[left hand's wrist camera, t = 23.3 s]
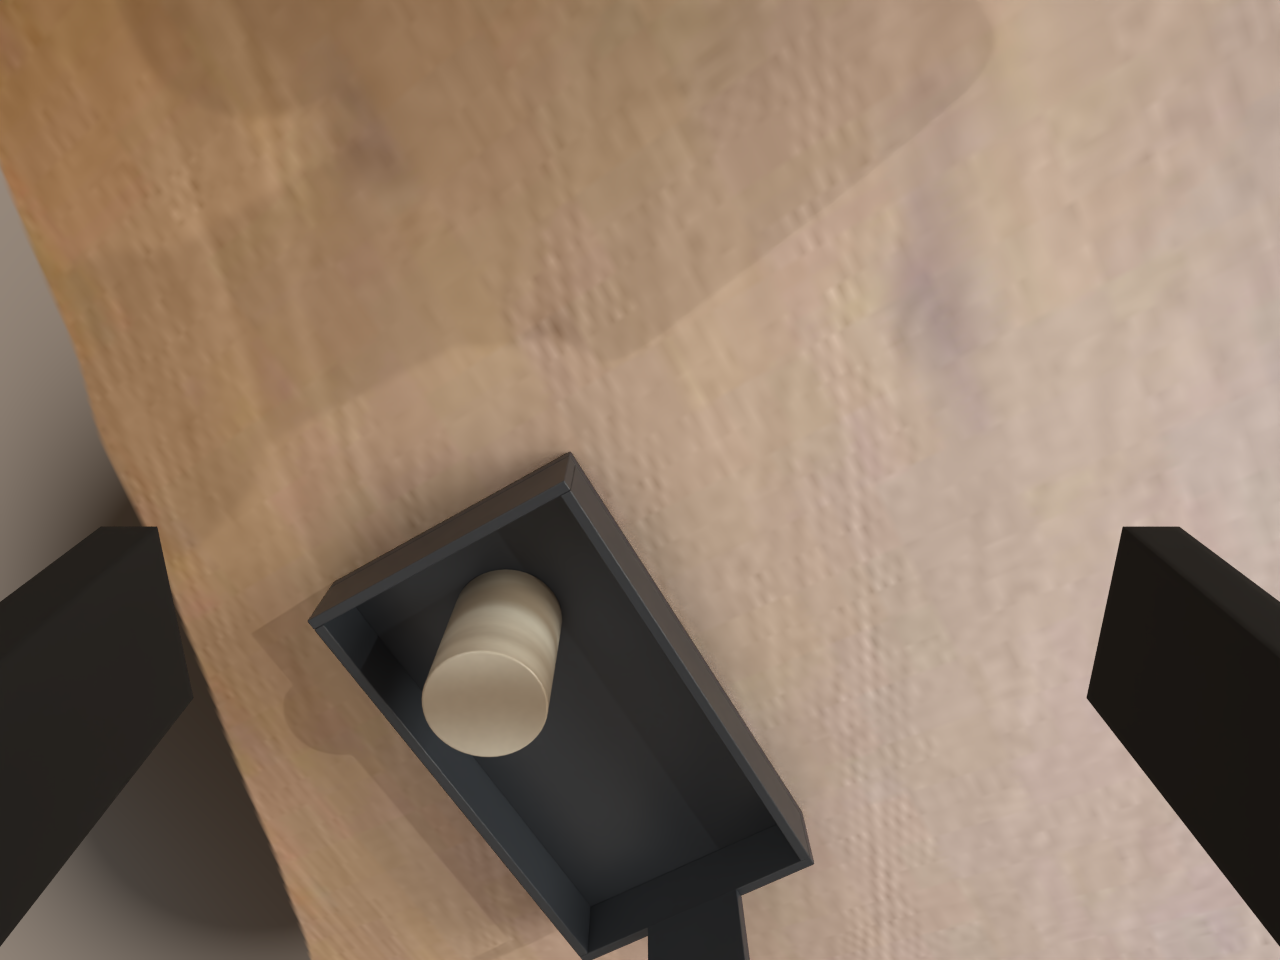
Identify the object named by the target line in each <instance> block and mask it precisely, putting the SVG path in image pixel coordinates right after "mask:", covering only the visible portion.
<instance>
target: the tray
mask: <svg viewBox="0 0 1280 960" xmlns="http://www.w3.org/2000/svg"><path fill="white" fill-rule="evenodd" d="M503 569H508V570H517V571H521V572H525V573H528V574H530V575H532V576H534V577H536V578H538V579H539V580H541V581H542V582H543V583H545V584H546V585H547V586H548V587H549V588H550V590H551V591H552V592H553V593H554V595H555V596H556V598H557V600H558V602H559V605H560V608H561V613H562V626H561V632H560V638H559V645H558V651H557V658H556V664H555V670H554V677H553V683H552V689H551V696H550V702H549V708H548V714H547V719H546V722H545V725H544V726H543V728H542V730H541V732H540V733H539V734H538V736H537V737H536V738H535V739H534V740H533V741H532V742H531V743H529V744H528V745H527V746H525V747H524V748H522V749H520V750H518V751H516V752H514V753H511V754H507V755H503V756H498V757H480V756H473V755H470V754H466V753H463V752H460V751H458V750H456V749H454V748H452V747H450V746H449V745H447V744H446V743H444V742H443V741H442V740H441V739H440V738H438V736H437V735H436V734H435V733H434V732H433V731H432V729H431V728H430V727H429V725H428V723H427V721H426V719H425V716H424V713H423V708H422V691H423V688H424V684H425V682H426V679H427V677H428V674H429V671H430V669H431V666H432V664H433V661H434V658H435V656H436V653H437V651H438V648H439V645H440V643H441V640H442V638H443V635H444V632H445V630H446V627H447V625H448V622H449V619H450V617H451V614H452V612H453V609H454V606H455V604H456V601H457V599H458V597H459V594H460V593H461V591H462V590H463V589H464V587H465V586H466V585H467V584H468V583H469V582H470V581H472V580H473V579H475V578H476V577H478V576H480V575H482V574H484V573H487V572H490V571H495V570H503ZM308 623H309V624H310V625H311V626H312V628H313V629H315V631H316V632H317V634H318V635H319V636H320V637H321V639H322V640H323V641H324V642H325V644H326V645H327V646H328V647H329V649H330V650H331V651H332V652H333V653H334V655H335V656H336V657H337V658H338V660H339V661H340V662H341V663H342V665H343V666H344V667H345V668H346V669H347V671H348V672H349V673H350V674H351V676H352V677H353V678H354V679H355V681H356V682H357V683H358V684H359V685H360V687H361V688H362V689H363V690H364V692H365V693H366V694H367V695H368V697H369V698H370V699H371V700H372V701H373V703H374V704H375V705H376V706H377V708H378V709H379V710H380V711H381V713H382V714H383V715H384V716H385V717H386V719H387V720H388V721H389V722H390V724H391V725H392V726H393V727H394V729H395V730H396V731H397V732H398V733H399V735H400V736H401V737H402V738H403V740H404V741H405V742H406V743H407V745H408V746H409V747H410V748H411V749H412V751H413V752H414V753H415V754H416V756H417V757H418V758H419V759H420V761H421V762H422V763H423V764H424V765H425V767H426V768H427V769H428V770H429V772H430V773H431V774H432V775H433V777H434V778H435V779H436V780H437V781H438V783H439V784H440V785H441V786H442V788H443V789H444V790H445V791H446V793H447V794H448V795H449V796H450V797H451V799H452V800H453V801H454V802H455V804H456V805H457V806H458V807H459V809H460V810H461V811H462V812H463V813H464V815H465V816H466V817H467V818H468V820H469V821H470V822H471V823H472V825H473V826H474V827H475V828H476V830H477V831H478V832H479V833H480V834H481V836H482V837H483V838H484V839H485V841H486V842H487V843H488V844H489V846H490V847H491V848H492V849H493V850H494V852H495V853H496V854H497V855H498V857H499V858H500V859H501V860H502V862H503V863H504V864H505V865H506V866H507V868H508V869H509V870H510V871H511V873H512V874H513V875H514V876H515V878H516V879H517V880H518V881H519V882H520V884H521V885H522V886H523V887H524V889H525V890H526V891H527V892H528V894H529V895H530V896H531V897H532V898H533V900H534V901H535V902H536V903H537V905H538V906H539V907H540V908H541V910H542V911H543V912H544V913H545V914H546V916H547V917H548V918H549V919H550V921H551V922H552V923H553V924H554V926H555V927H556V928H557V929H558V930H559V932H560V933H561V934H562V935H563V937H564V938H565V939H566V940H567V942H568V943H569V944H570V945H571V946H572V948H573V949H574V950H575V951H576V953H577V954H578V955H579V956H580V957H581V959H582V960H593V959H595V958H598V957H600V956H602V955H604V954H607V953H609V952H611V951H614V950H616V949H618V948H621V947H623V946H625V945H628V944H630V943H632V942H635V941H637V940H639V939H642V938H644V937H646V936H648V960H750V958H749V950H748V943H747V935H746V927H745V920H744V912H743V904H742V897H741V895H744V894H746V893H748V892H751V891H753V890H755V889H758V888H760V887H762V886H764V885H767V884H769V883H771V882H774V881H776V880H778V879H781V878H783V877H785V876H788V875H790V874H792V873H795V872H797V871H799V870H802V869H804V868H806V867H809V866H811V865H813V864H814V860H813V856H812V852H811V848H810V843H809V839H808V835H807V831H806V826H805V822H804V818H803V814H802V811H801V810H800V808H799V806H798V805H797V803H796V802H795V800H794V799H793V797H792V796H791V794H790V792H789V791H788V789H787V788H786V786H785V785H784V783H783V782H782V780H781V778H780V777H779V775H778V774H777V772H776V771H775V769H774V767H773V766H772V764H771V763H770V761H769V760H768V758H767V757H766V755H765V753H764V752H763V750H762V749H761V747H760V746H759V744H758V743H757V741H756V739H755V738H754V736H753V735H752V733H751V732H750V730H749V729H748V727H747V725H746V724H745V722H744V721H743V719H742V718H741V716H740V715H739V713H738V711H737V710H736V708H735V707H734V705H733V704H732V702H731V701H730V699H729V697H728V696H727V694H726V693H725V691H724V690H723V688H722V687H721V685H720V683H719V682H718V680H717V679H716V677H715V676H714V674H713V672H712V671H711V669H710V668H709V666H708V665H707V663H706V662H705V660H704V658H703V657H702V655H701V654H700V652H699V651H698V649H697V648H696V646H695V644H694V643H693V641H692V640H691V638H690V637H689V635H688V634H687V632H686V630H685V629H684V627H683V626H682V624H681V623H680V621H679V620H678V618H677V616H676V615H675V613H674V612H673V610H672V609H671V607H670V606H669V604H668V602H667V601H666V599H665V598H664V596H663V595H662V593H661V592H660V590H659V588H658V587H657V585H656V584H655V582H654V581H653V579H652V577H651V576H650V574H649V573H648V571H647V570H646V568H645V567H644V565H643V563H642V562H641V560H640V559H639V557H638V556H637V554H636V553H635V551H634V549H633V548H632V546H631V545H630V543H629V542H628V540H627V539H626V537H625V535H624V534H623V532H622V531H621V529H620V528H619V526H618V525H617V523H616V521H615V520H614V518H613V517H612V515H611V514H610V512H609V511H608V509H607V507H606V506H605V504H604V503H603V501H602V500H601V498H600V496H599V495H598V493H597V492H596V490H595V489H594V487H593V486H592V484H591V482H590V481H589V479H588V478H587V476H586V475H585V473H584V472H583V470H582V468H581V467H580V465H579V464H578V462H577V461H576V459H575V458H574V456H573V454H572V453H571V452H568V453H566V454H565V455H563V456H561V457H559V458H557V459H555V460H554V461H552V462H550V463H548V464H546V465H545V466H543V467H541V468H539V469H537V470H536V471H534V472H532V473H530V474H528V475H527V476H525V477H523V478H521V479H519V480H518V481H516V482H514V483H512V484H510V485H508V486H507V487H505V488H503V489H501V490H499V491H498V492H496V493H494V494H492V495H490V496H489V497H487V498H485V499H483V500H481V501H480V502H478V503H476V504H474V505H472V506H471V507H469V508H467V509H465V510H463V511H461V512H460V513H458V514H456V515H454V516H452V517H451V518H449V519H447V520H445V521H443V522H442V523H440V524H438V525H436V526H434V527H433V528H431V529H429V530H427V531H425V532H424V533H422V534H420V535H418V536H416V537H414V538H413V539H411V540H409V541H407V542H405V543H404V544H402V545H400V546H398V547H396V548H395V549H393V550H391V551H389V552H387V553H386V554H384V555H382V556H380V557H378V558H377V559H375V560H373V561H371V562H369V563H367V564H366V565H364V566H362V567H360V568H358V569H357V570H355V571H353V572H351V573H349V574H348V575H346V576H344V577H342V578H340V579H339V580H337V581H335V582H334V583H333V584H332V585H331V587H330V588H329V590H328V591H327V593H326V594H325V596H324V597H323V599H322V600H321V602H320V603H319V605H318V606H317V608H316V609H315V611H314V612H313V614H312V615H311V617H310V618H309V620H308Z"/></svg>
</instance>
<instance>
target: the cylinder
mask: <svg viewBox="0 0 1280 960" xmlns="http://www.w3.org/2000/svg"><path fill="white" fill-rule="evenodd" d="M561 626H562V613H561V608H560V605H559V602H558V600H557V598H556V596H555V595H554V593H553V592H552V591H551V590H550V588H549V587H548V586H547V585H546V584H545V583H543V582H542V581H541V580H539V579H538V578H536V577H534V576H532V575H530V574H528V573H525V572H521V571H517V570H508V569H503V570H495V571H490V572H487V573H484V574H482V575H480V576H478V577H476V578H475V579H473V580H472V581H470V582H469V583H468V584H467V585H466V586H465V587H464V589H463V590H462V591H461V593H460V594H459V597H458V599H457V601H456V604H455V606H454V609H453V612H452V614H451V617H450V619H449V622H448V625H447V627H446V630H445V632H444V635H443V638H442V640H441V643H440V645H439V648H438V651H437V653H436V656H435V658H434V661H433V664H432V666H431V669H430V671H429V674H428V677H427V679H426V682H425V684H424V688H423V691H422V708H423V713H424V716H425V719H426V721H427V723H428V725H429V727H430V728H431V729H432V731H433V732H434V733H435V734H436V735H437V736H438V738H440V739H441V740H442V741H443V742H444V743H446V744H447V745H449V746H450V747H452V748H454V749H456V750H458V751H460V752H463V753H466V754H470V755H473V756H480V757H498V756H503V755H507V754H511V753H514V752H516V751H518V750H520V749H522V748H524V747H525V746H527V745H528V744H529V743H531V742H532V741H533V740H534V739H535V738H536V737H537V736H538V734H539V733H540V732H541V730H542V728H543V726H544V725H545V722H546V719H547V714H548V708H549V702H550V696H551V689H552V683H553V677H554V670H555V664H556V658H557V651H558V645H559V638H560V632H561Z"/></svg>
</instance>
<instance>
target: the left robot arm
mask: <svg viewBox="0 0 1280 960" xmlns="http://www.w3.org/2000/svg"><path fill="white" fill-rule="evenodd" d="M192 699H193V694H192V689H191V684H190V680H189V675H188V670H187V665H186V661H185V656H184V651H183V646H182V642H181V637H180V632H179V628H178V623H177V618H176V613H175V609H174V604H173V599H172V594H171V590H170V585H169V580H168V576H167V571H166V566H165V561H164V557H163V552H162V547H161V542H160V538H159V533H158V528H157V527H100V528H98V529H97V530H96V531H94V532H93V533H92V534H90V535H89V536H88V537H86V538H85V539H84V540H82V541H81V542H80V543H78V544H77V545H76V546H74V547H73V548H72V549H70V550H69V551H68V552H66V553H65V554H64V555H62V556H61V557H60V558H58V559H57V560H56V561H54V562H53V563H52V564H50V565H49V566H48V567H46V568H45V569H44V570H42V571H41V572H40V573H38V574H37V575H36V576H34V577H33V578H32V579H30V580H29V581H28V582H26V583H25V584H24V585H22V586H21V587H20V588H18V589H17V590H16V591H14V592H13V593H12V594H10V595H9V596H8V597H6V598H5V599H4V600H2V601H1V602H0V946H1V945H2V944H3V942H4V941H5V940H6V938H7V937H8V936H9V934H10V933H11V932H12V931H13V929H14V928H15V927H16V926H17V924H18V923H19V922H20V920H21V919H22V918H23V916H24V915H25V914H26V913H27V911H28V910H29V909H30V908H31V906H32V905H33V904H34V902H35V901H36V900H37V899H38V897H39V896H40V895H41V893H42V892H43V891H44V890H45V888H46V887H47V886H48V884H49V883H50V882H51V881H52V879H53V878H54V877H55V875H56V874H57V873H58V871H59V870H60V869H61V868H62V866H63V865H64V864H65V862H66V861H67V860H68V859H69V857H70V856H71V855H72V853H73V852H74V851H75V850H76V848H77V847H78V846H79V844H80V843H81V842H82V841H83V839H84V838H85V837H86V835H87V834H88V833H89V832H90V830H91V829H92V828H93V826H94V825H95V824H96V823H97V821H98V820H99V819H100V817H101V816H102V815H103V814H104V812H105V811H106V810H107V808H108V807H109V806H110V805H111V803H112V802H113V801H114V799H115V798H116V797H117V796H118V794H119V793H120V792H121V790H122V789H123V788H124V787H125V785H126V784H127V783H128V781H129V780H130V779H131V778H132V776H133V775H134V774H135V772H136V771H137V770H138V769H139V767H140V766H141V765H142V763H143V762H144V761H145V760H146V758H147V757H148V756H149V754H150V753H151V752H152V750H153V749H154V748H155V747H156V745H157V744H158V743H159V742H160V740H161V739H162V738H163V736H164V735H165V734H166V733H167V731H168V730H169V729H170V727H171V726H172V725H173V723H174V722H175V721H176V720H177V718H178V717H179V716H180V715H181V713H182V712H183V711H184V709H185V708H186V707H187V706H188V704H189V703H190V702H191V700H192ZM1087 699H1088V700H1089V702H1090V703H1091V704H1092V706H1093V707H1094V708H1095V709H1096V711H1097V712H1098V713H1099V715H1100V716H1101V717H1102V718H1103V720H1104V721H1105V722H1106V724H1107V725H1108V726H1109V727H1110V729H1111V730H1112V731H1113V733H1114V734H1115V735H1116V736H1117V738H1118V739H1119V740H1120V742H1121V743H1122V744H1123V745H1124V747H1125V748H1126V749H1127V751H1128V752H1129V753H1130V754H1131V756H1132V757H1133V758H1134V760H1135V761H1136V762H1137V763H1138V765H1139V766H1140V767H1141V769H1142V770H1143V771H1144V772H1145V774H1146V775H1147V776H1148V778H1149V779H1150V780H1151V781H1152V783H1153V784H1154V785H1155V787H1156V788H1157V789H1158V790H1159V792H1160V793H1161V794H1162V796H1163V797H1164V798H1165V799H1166V801H1167V802H1168V803H1169V805H1170V806H1171V807H1172V808H1173V810H1174V811H1175V812H1176V814H1177V815H1178V816H1179V817H1180V819H1181V820H1182V821H1183V823H1184V824H1185V825H1186V826H1187V828H1188V829H1189V830H1190V832H1191V833H1192V834H1193V835H1194V837H1195V838H1196V839H1197V841H1198V842H1199V843H1200V844H1201V846H1202V847H1203V848H1204V850H1205V851H1206V852H1207V853H1208V855H1209V856H1210V857H1211V859H1212V860H1213V861H1214V862H1215V864H1216V865H1217V866H1218V868H1219V869H1220V870H1221V871H1222V873H1223V874H1224V875H1225V877H1226V878H1227V879H1228V881H1229V882H1230V883H1231V884H1232V886H1233V887H1234V888H1235V890H1236V891H1237V892H1238V893H1239V895H1240V896H1241V897H1242V899H1243V900H1244V901H1245V902H1246V904H1247V905H1248V906H1249V908H1250V909H1251V910H1252V911H1253V913H1254V914H1255V915H1256V917H1257V918H1258V919H1259V920H1260V922H1261V923H1262V924H1263V926H1264V927H1265V928H1266V929H1267V931H1268V932H1269V933H1270V935H1271V936H1272V937H1273V938H1274V940H1275V941H1276V942H1277V944H1278V945H1279V946H1280V602H1279V601H1278V600H1276V599H1275V598H1274V597H1272V596H1271V595H1270V594H1268V593H1267V592H1266V591H1264V590H1263V589H1262V588H1260V587H1259V586H1258V585H1256V584H1255V583H1254V582H1252V581H1251V580H1250V579H1248V578H1247V577H1246V576H1244V575H1243V574H1242V573H1240V572H1239V571H1238V570H1236V569H1235V568H1234V567H1232V566H1231V565H1230V564H1228V563H1227V562H1226V561H1224V560H1223V559H1222V558H1220V557H1219V556H1218V555H1216V554H1215V553H1214V552H1212V551H1211V550H1210V549H1208V548H1207V547H1206V546H1204V545H1203V544H1202V543H1200V542H1199V541H1198V540H1196V539H1195V538H1194V537H1192V536H1191V535H1190V534H1188V533H1187V532H1186V531H1184V530H1183V529H1182V528H1180V527H1123V528H1122V533H1121V538H1120V542H1119V547H1118V552H1117V557H1116V561H1115V566H1114V571H1113V576H1112V580H1111V585H1110V590H1109V594H1108V599H1107V604H1106V609H1105V613H1104V618H1103V623H1102V627H1101V632H1100V637H1099V642H1098V646H1097V651H1096V656H1095V661H1094V665H1093V670H1092V675H1091V679H1090V684H1089V689H1088V694H1087Z"/></svg>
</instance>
